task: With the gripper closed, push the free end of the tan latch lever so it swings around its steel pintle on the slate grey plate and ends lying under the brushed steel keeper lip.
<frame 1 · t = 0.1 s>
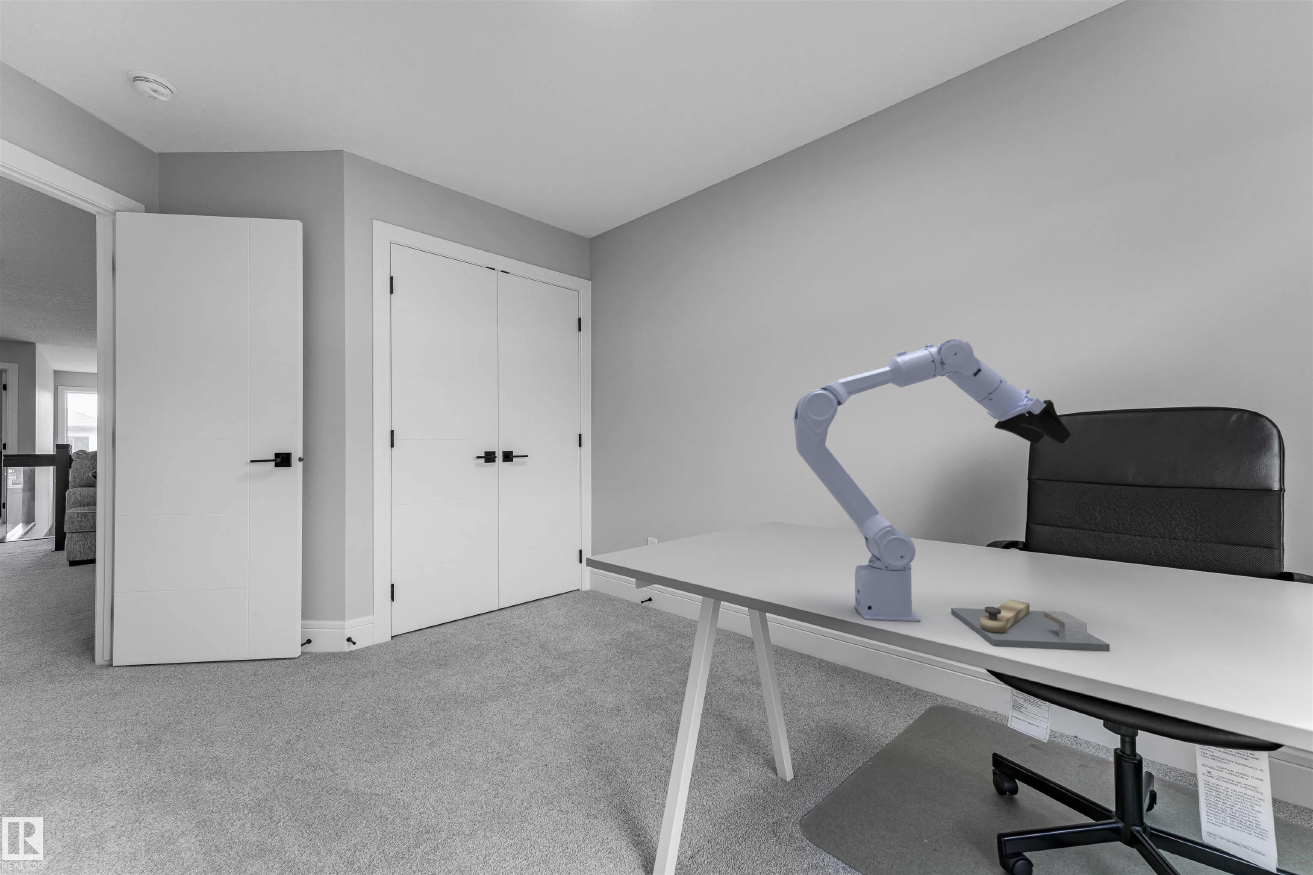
hand: (1052, 439, 94), 32 cm above the table, tool tilted 50°, fingers open, 7 cm apart
keeper: (1062, 641, 83), resting on base plate
base plate: (1022, 630, 88), on the table
tan latch lever: (1005, 610, 90), point 3 cm above the table, hinge at 50.0°
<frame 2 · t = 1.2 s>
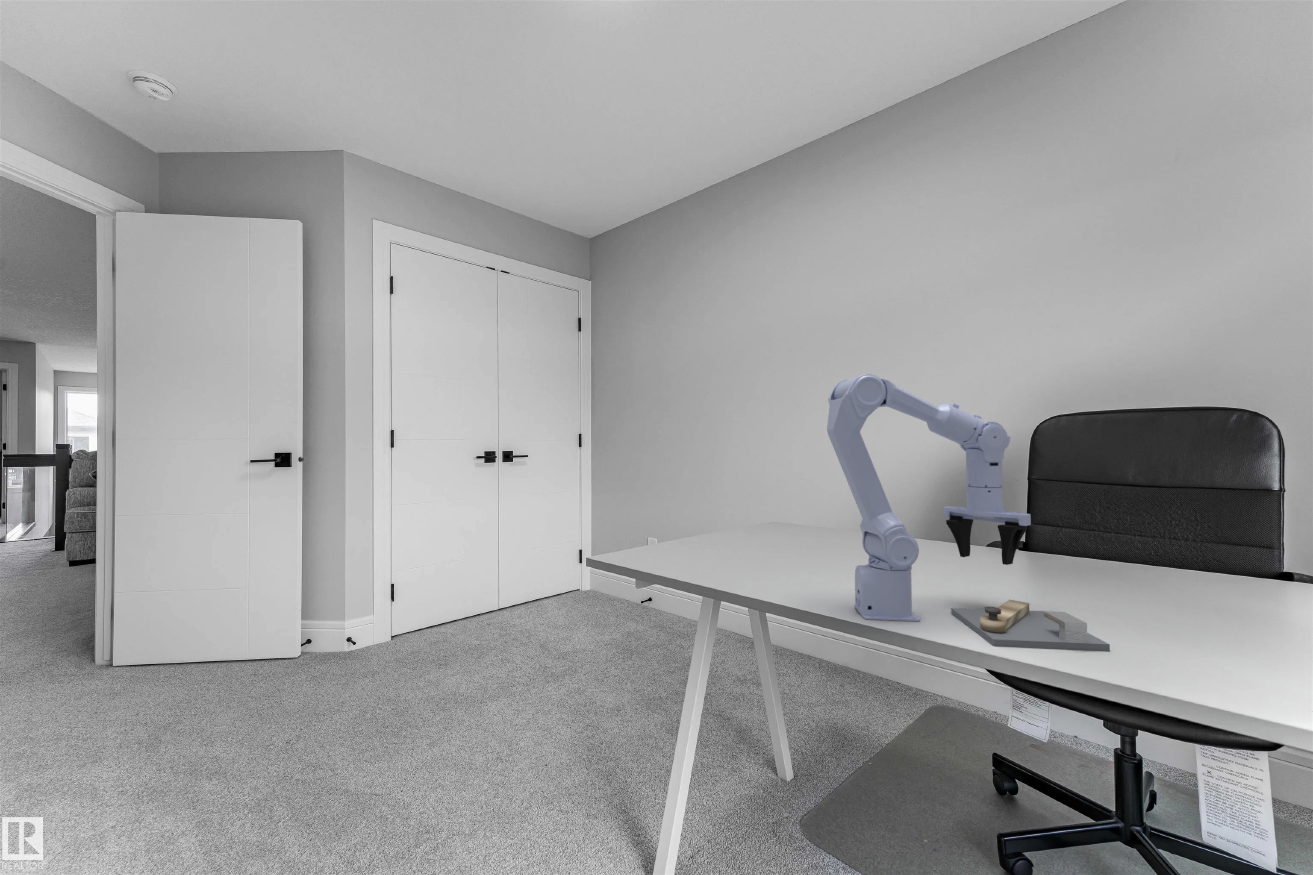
hand: (985, 560, 98), 9 cm above the table, tool pointing down, fingers open, 7 cm apart
nothing on the table moved.
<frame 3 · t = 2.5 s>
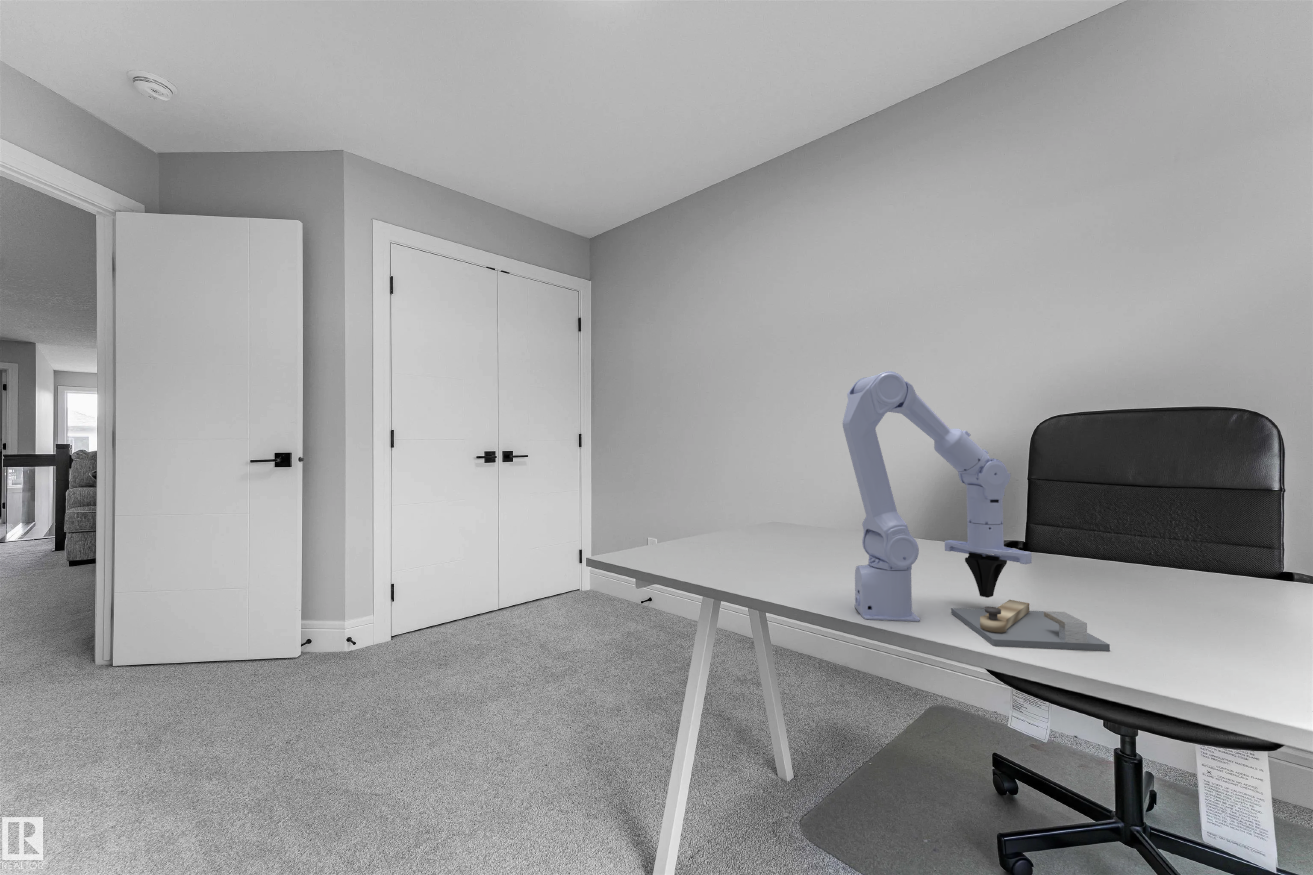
hand: (986, 596, 98), 3 cm above the table, tool pointing down, fingers closed
nothing on the table moved.
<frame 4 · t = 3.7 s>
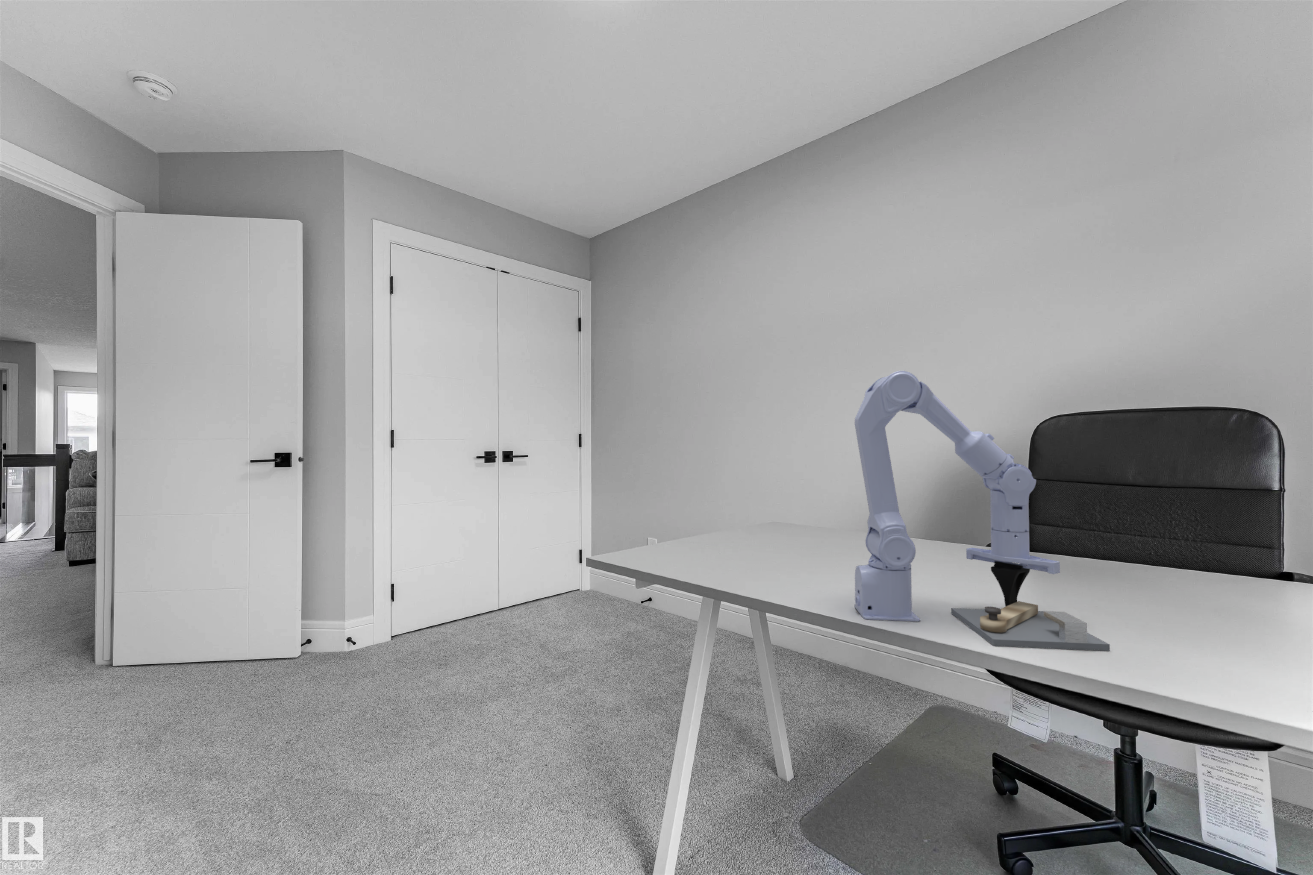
hand: (1011, 606, 94), 2 cm above the table, tool pointing down, fingers closed, pressing on tan latch lever
tan latch lever: (1009, 611, 89), point 3 cm above the table, hinge at 44.7°, touching gripper
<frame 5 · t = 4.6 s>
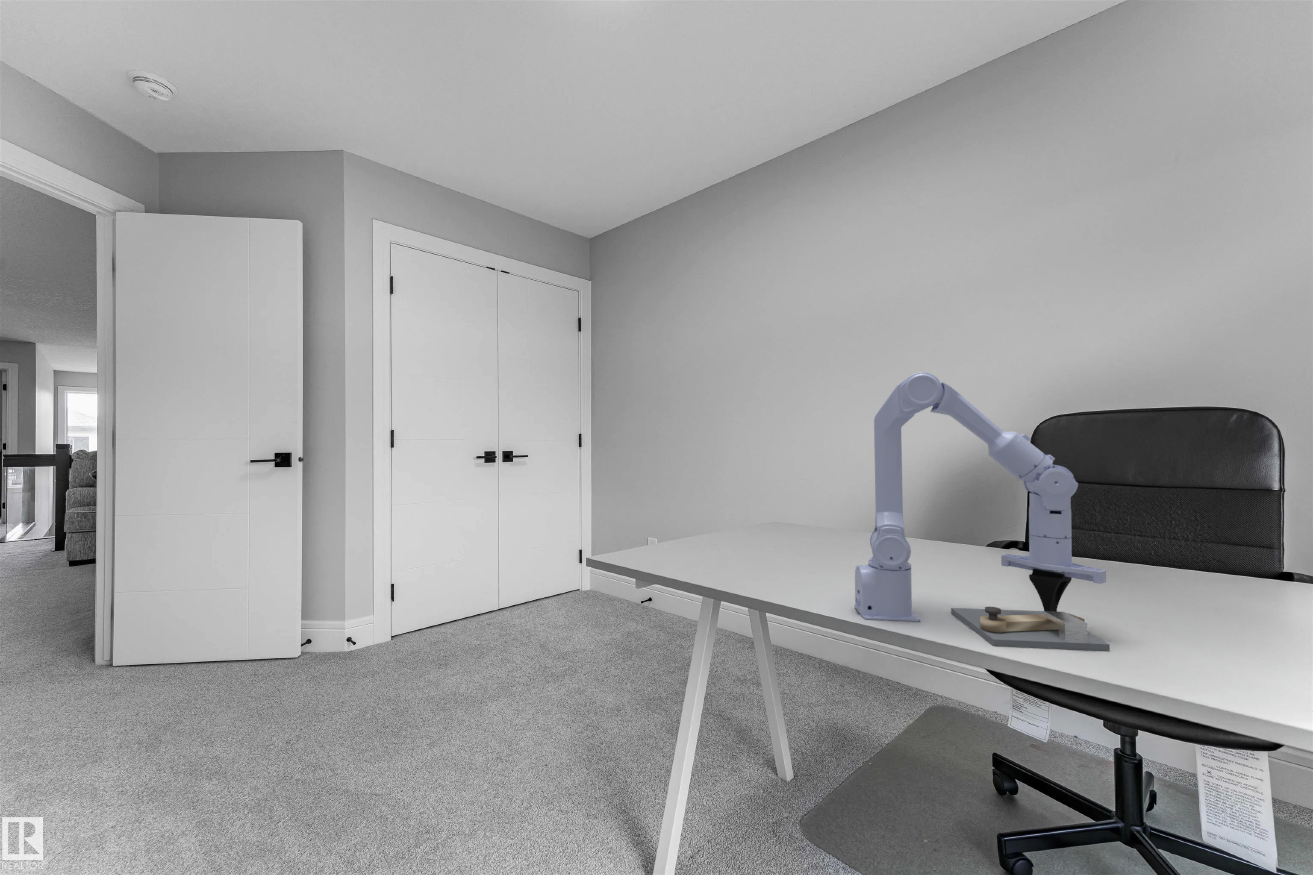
hand: (1050, 617, 89), 2 cm above the table, tool pointing down, fingers closed, pressing on tan latch lever
tan latch lever: (1029, 617, 86), point 3 cm above the table, hinge at 13.5°, touching gripper
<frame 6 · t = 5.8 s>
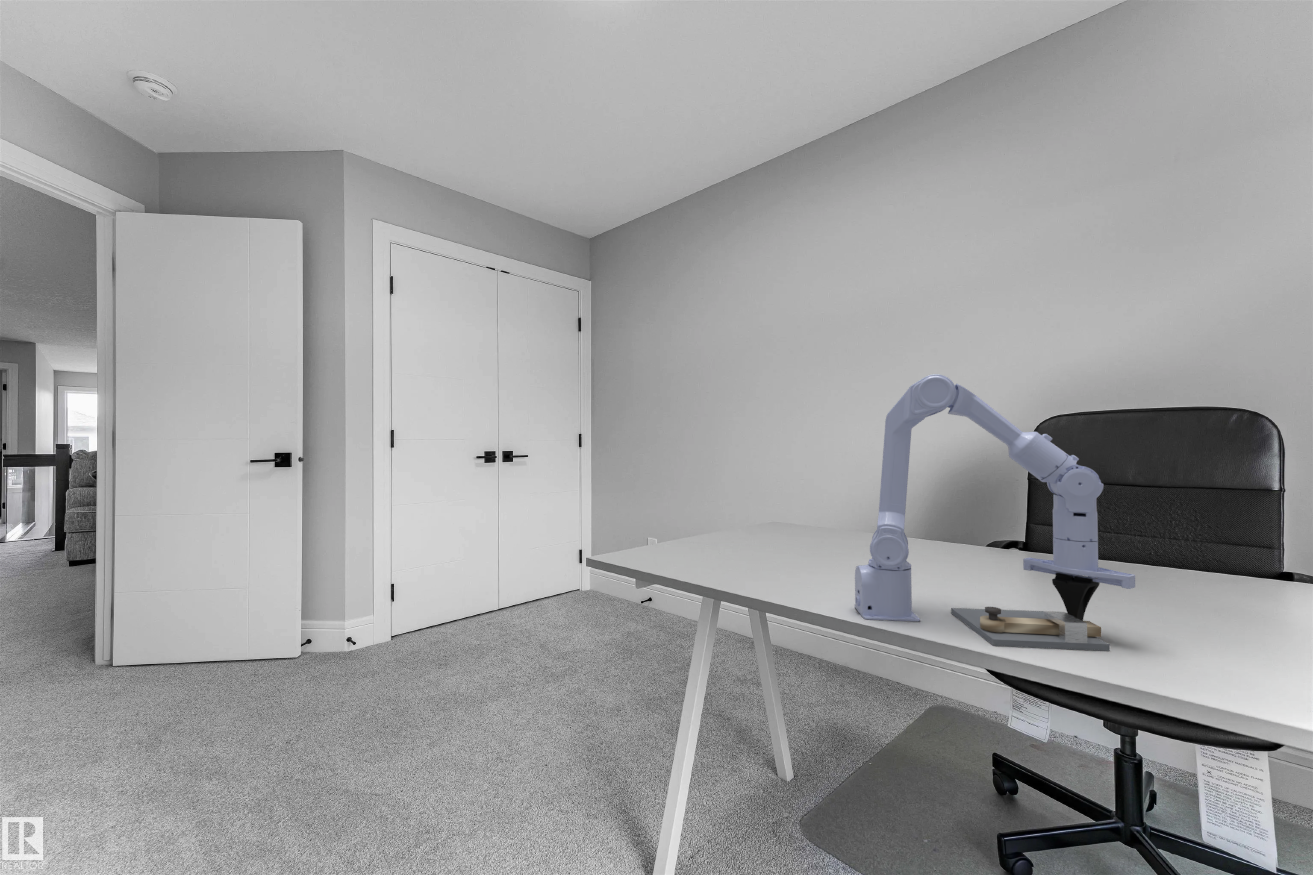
hand: (1076, 623, 86), 2 cm above the table, tool pointing down, fingers closed
tan latch lever: (1036, 620, 84), point 3 cm above the table, hinge at -2.0°, touching gripper
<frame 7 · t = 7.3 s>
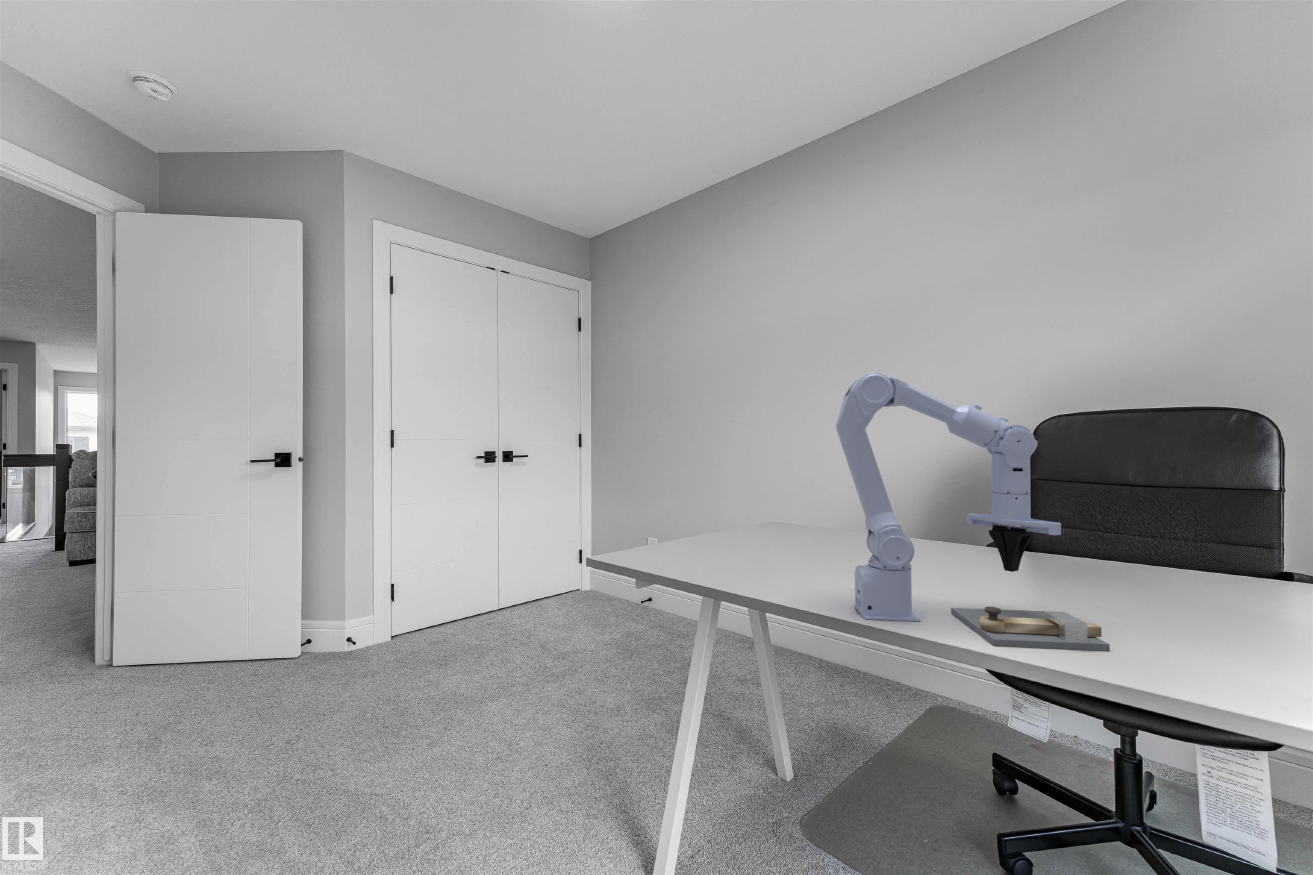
hand: (1011, 570, 93), 9 cm above the table, tool pointing down, fingers closed
tan latch lever: (1037, 620, 84), point 3 cm above the table, hinge at -2.2°
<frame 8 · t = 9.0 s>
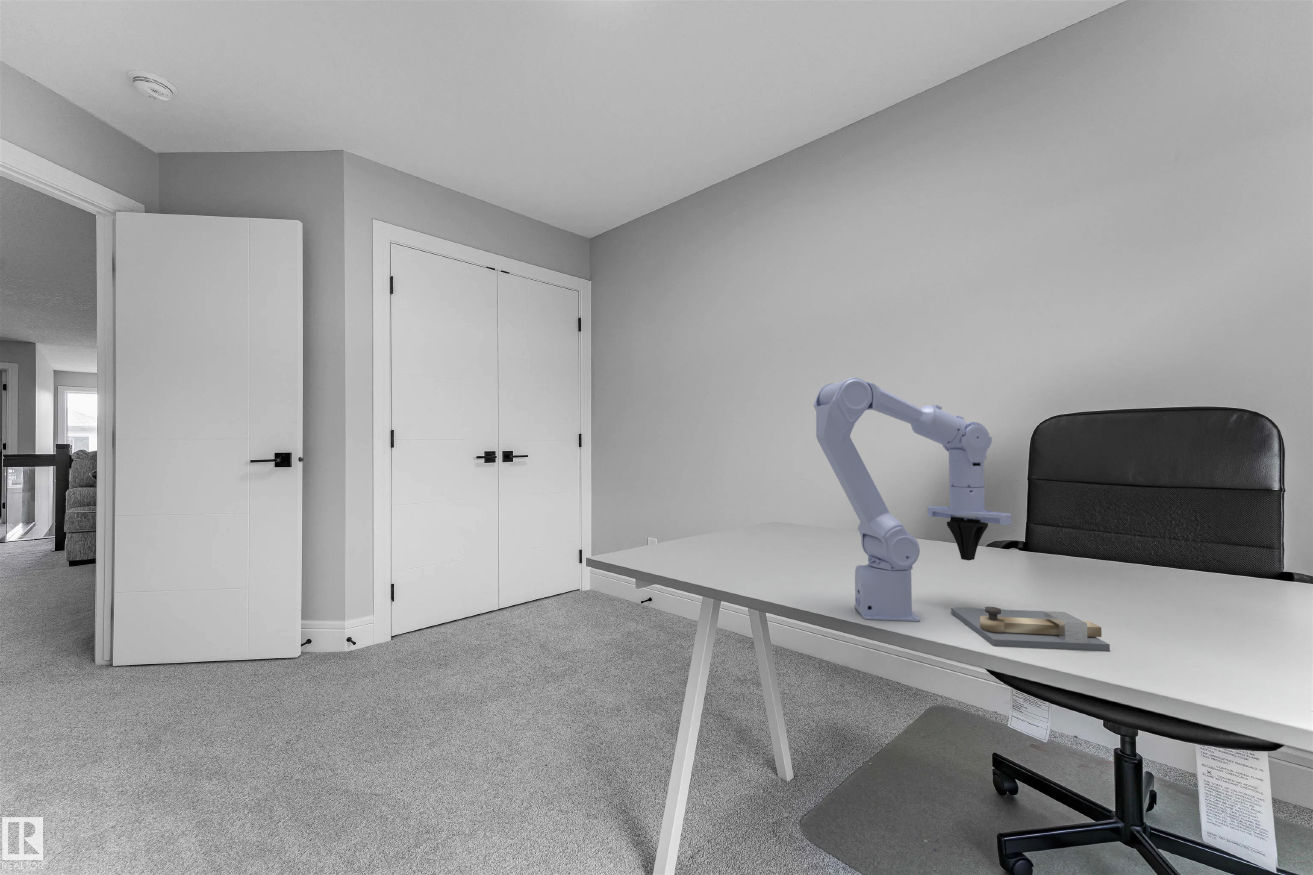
hand: (967, 559, 99), 9 cm above the table, tool pointing down, fingers closed
nothing on the table moved.
at the end: tan latch lever at -2° (first picture: +50°); the gripper is holding nothing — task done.
